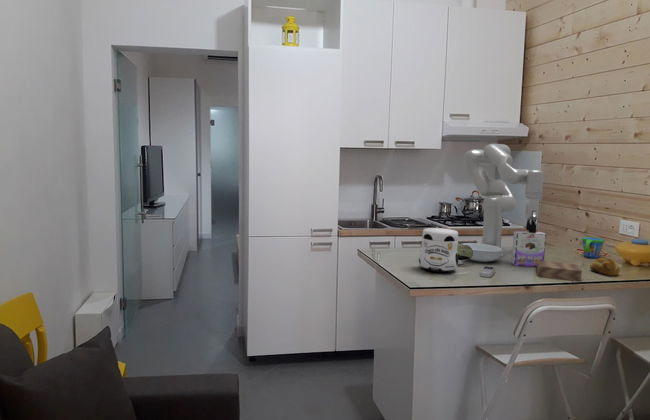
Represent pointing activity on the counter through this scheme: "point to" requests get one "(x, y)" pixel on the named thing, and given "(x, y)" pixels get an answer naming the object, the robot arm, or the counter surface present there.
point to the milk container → (439, 250)
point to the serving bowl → (484, 252)
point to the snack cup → (592, 247)
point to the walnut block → (558, 270)
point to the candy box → (528, 248)
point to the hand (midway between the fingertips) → (530, 231)
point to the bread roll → (605, 267)
